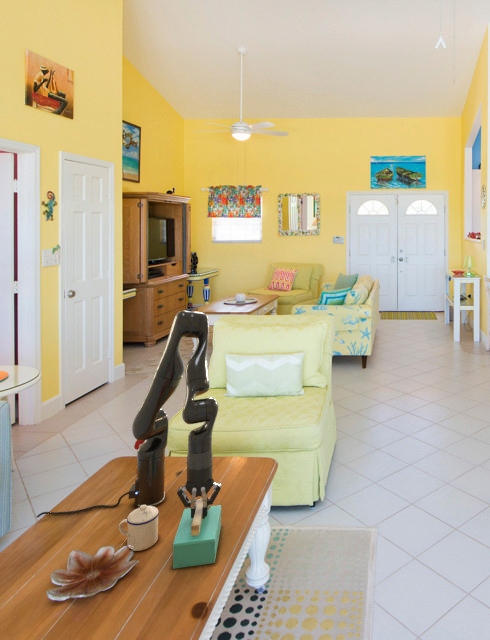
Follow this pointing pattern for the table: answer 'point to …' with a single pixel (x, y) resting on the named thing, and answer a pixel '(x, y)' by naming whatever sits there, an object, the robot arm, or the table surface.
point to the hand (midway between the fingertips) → (199, 517)
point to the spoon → (198, 517)
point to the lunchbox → (196, 552)
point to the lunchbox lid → (206, 530)
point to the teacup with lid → (141, 527)
